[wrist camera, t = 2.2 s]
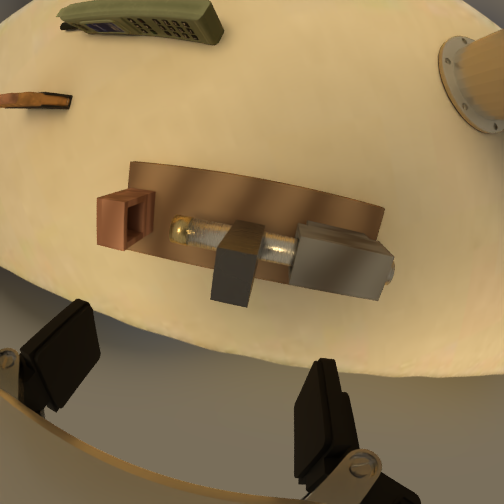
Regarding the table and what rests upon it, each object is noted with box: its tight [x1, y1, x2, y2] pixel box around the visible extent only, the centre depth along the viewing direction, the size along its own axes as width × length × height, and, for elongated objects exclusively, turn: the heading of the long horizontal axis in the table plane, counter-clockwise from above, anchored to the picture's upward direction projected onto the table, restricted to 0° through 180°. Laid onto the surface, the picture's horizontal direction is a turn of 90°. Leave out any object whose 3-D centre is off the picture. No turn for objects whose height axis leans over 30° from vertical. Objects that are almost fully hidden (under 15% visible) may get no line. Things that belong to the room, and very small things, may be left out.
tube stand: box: [97, 161, 394, 301], centre depth 24 cm, size 26×10×7 cm, turn 80°
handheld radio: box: [56, 0, 224, 45], centre depth 18 cm, size 7×3×25 cm
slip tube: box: [169, 214, 395, 307], centre depth 20 cm, size 20×4×8 cm, turn 80°
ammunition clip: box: [0, 92, 72, 109], centre depth 19 cm, size 11×2×12 cm, turn 73°
